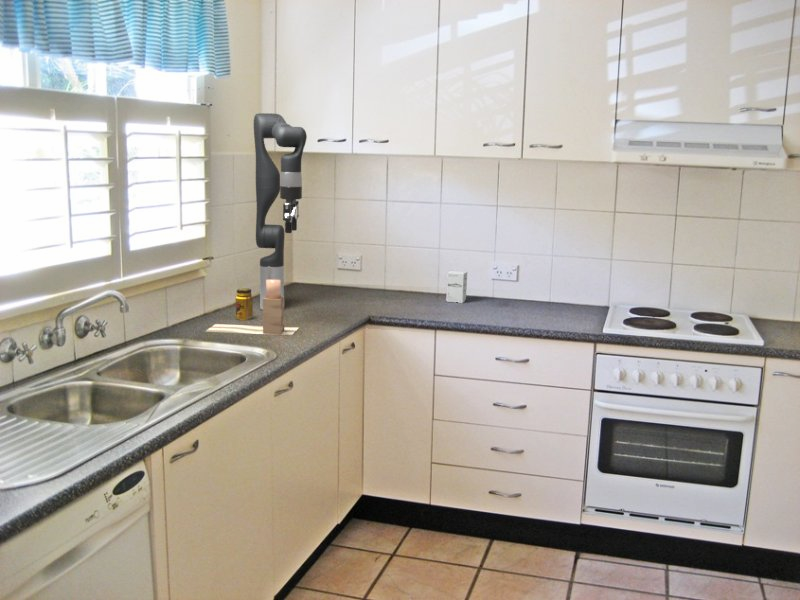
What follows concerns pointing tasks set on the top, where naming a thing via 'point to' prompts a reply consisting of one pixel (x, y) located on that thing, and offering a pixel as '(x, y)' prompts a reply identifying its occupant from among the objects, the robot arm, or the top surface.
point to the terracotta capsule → (273, 288)
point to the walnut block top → (273, 307)
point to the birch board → (246, 329)
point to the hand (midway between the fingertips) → (291, 231)
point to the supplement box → (456, 286)
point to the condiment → (244, 305)
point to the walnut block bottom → (273, 325)
